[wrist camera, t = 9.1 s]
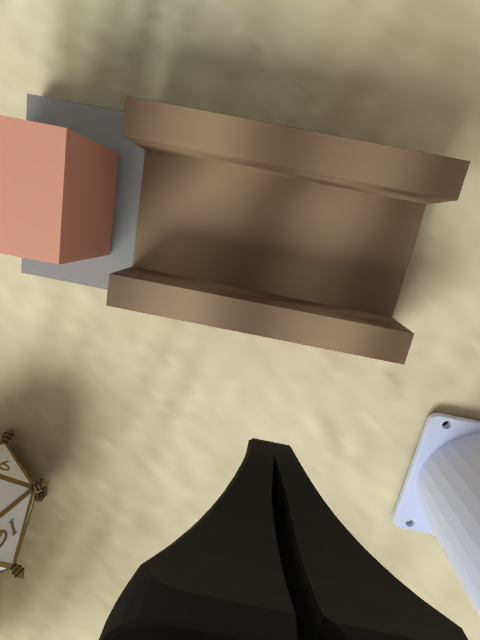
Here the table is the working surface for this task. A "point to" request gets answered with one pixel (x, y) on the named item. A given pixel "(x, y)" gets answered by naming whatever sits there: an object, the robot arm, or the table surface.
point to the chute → (276, 228)
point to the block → (54, 193)
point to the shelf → (109, 133)
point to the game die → (14, 505)
